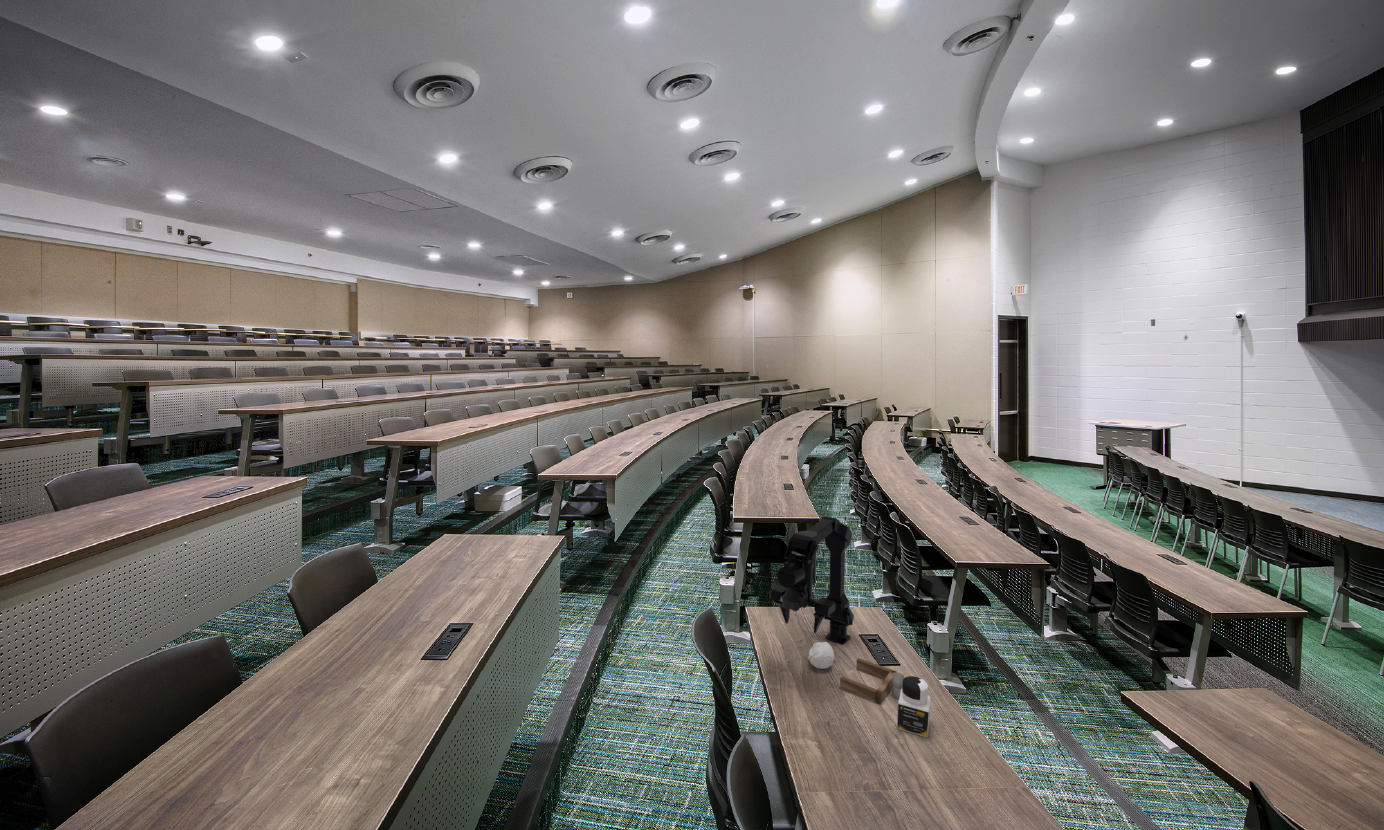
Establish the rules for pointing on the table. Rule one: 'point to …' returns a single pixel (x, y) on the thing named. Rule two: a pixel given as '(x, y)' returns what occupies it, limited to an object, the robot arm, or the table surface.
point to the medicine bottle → (914, 706)
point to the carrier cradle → (869, 693)
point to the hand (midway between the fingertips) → (800, 627)
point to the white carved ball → (821, 655)
